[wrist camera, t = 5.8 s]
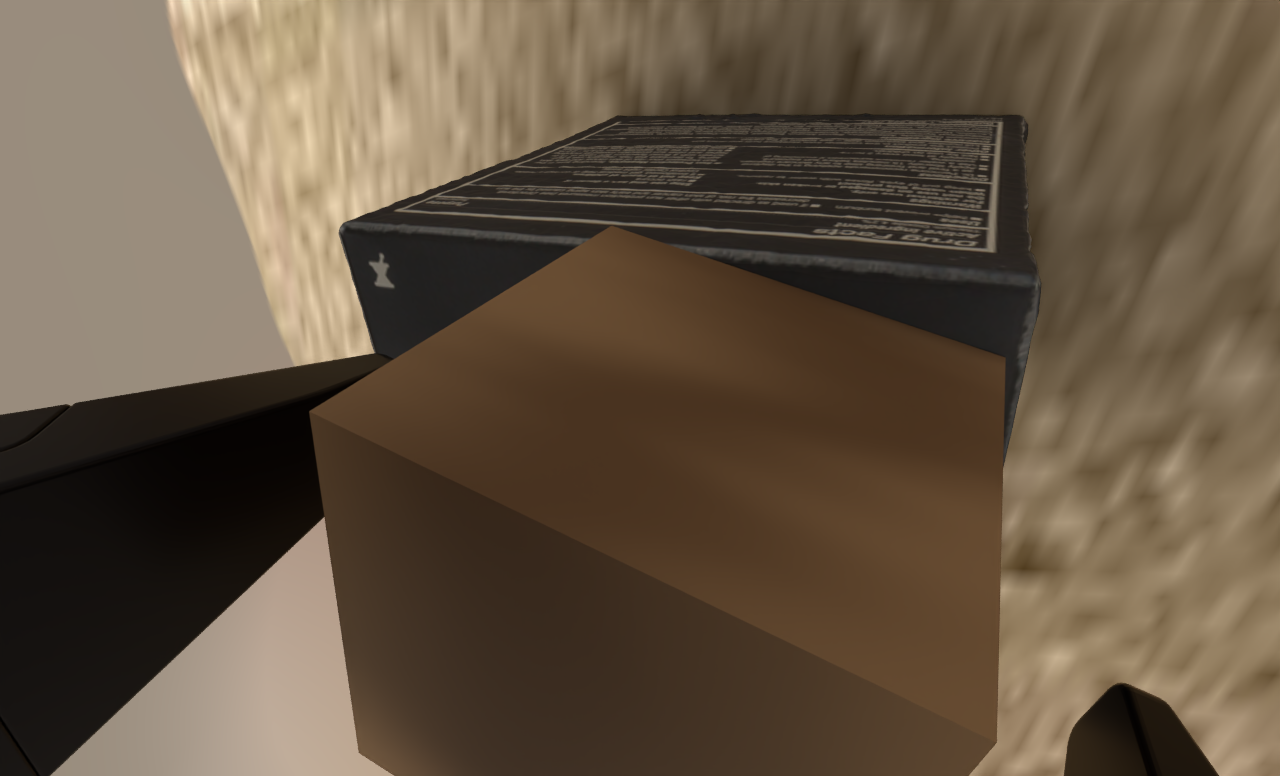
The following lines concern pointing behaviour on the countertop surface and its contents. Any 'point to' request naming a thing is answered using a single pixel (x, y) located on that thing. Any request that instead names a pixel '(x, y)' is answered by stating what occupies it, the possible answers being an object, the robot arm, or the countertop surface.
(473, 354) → the block
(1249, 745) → the countertop surface
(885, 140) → the small box
